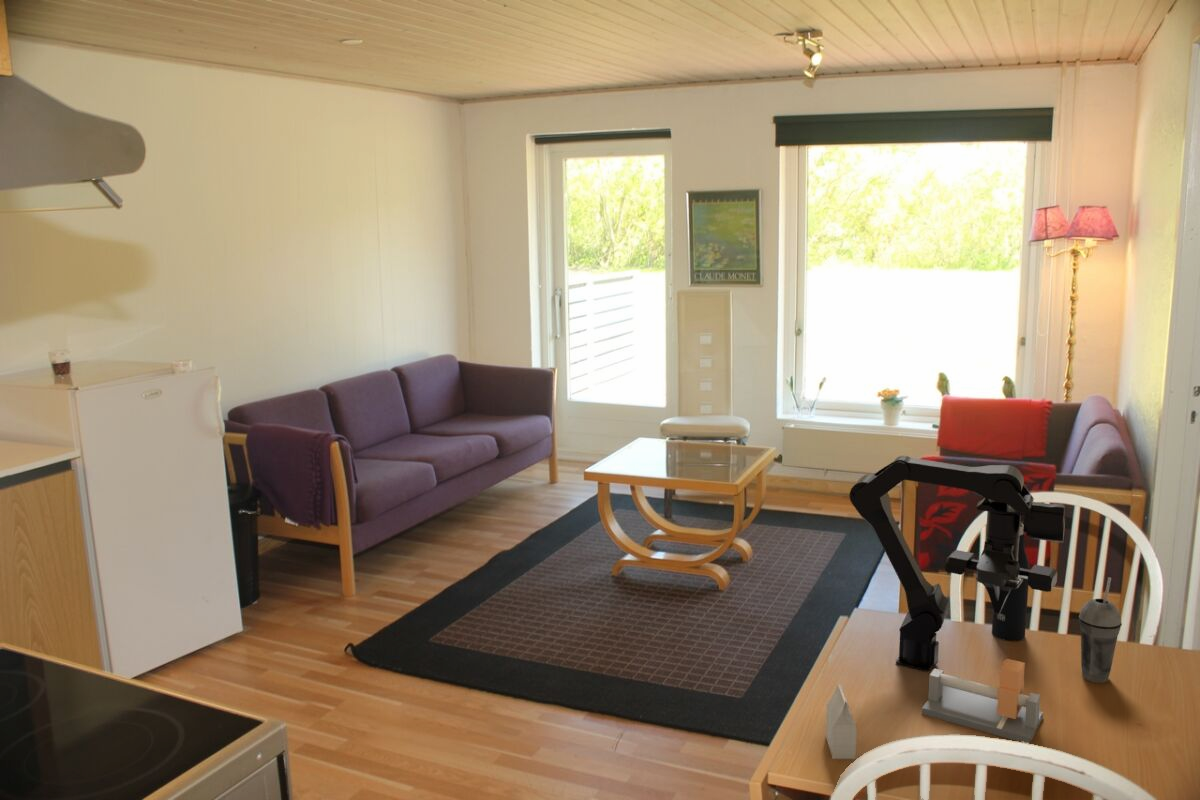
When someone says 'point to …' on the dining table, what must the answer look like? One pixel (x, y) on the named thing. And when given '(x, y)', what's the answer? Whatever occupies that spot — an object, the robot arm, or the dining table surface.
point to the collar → (1010, 688)
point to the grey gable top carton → (840, 727)
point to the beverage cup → (1098, 637)
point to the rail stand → (980, 707)
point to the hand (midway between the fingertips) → (997, 612)
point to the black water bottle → (1014, 603)
